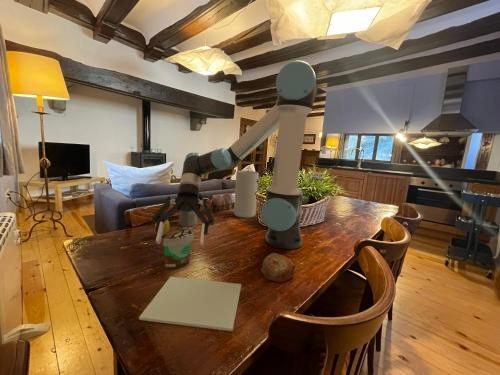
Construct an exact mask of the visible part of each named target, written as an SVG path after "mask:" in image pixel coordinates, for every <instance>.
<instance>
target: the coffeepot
mask: <svg viewBox="0 0 500 375" xmlns="http://www.w3.org/2000/svg"><path fill="white" fill-rule="evenodd" d="M203 199H204V197H203V195H202V194H201V193H199V200H203ZM201 207H202V206H201V204H199V205H198V206H197V208H198V209H199V210H200V211H201ZM177 221H178V222H177V224H178V225H179V226H180V227H193V226H197V224H198V223H199V222H198V216H197V215H196V214H195V213H194V212H193V210H192V211H191V212H188V211H181V210H180V211H179V214H178V220H177Z"/></svg>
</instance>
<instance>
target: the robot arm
mask: <svg viewBox="0 0 500 375" xmlns="http://www.w3.org/2000/svg"><path fill="white" fill-rule="evenodd" d="M275 85H276V86H275V87H276V91H277V99H276V103H275V105H274V106H272V108H270V109H269V111H267V112H266V113H265V114H264V115H263V116H262V117H261V118H260V119H259V120H258V121H256V122H255V123H254V124H253V125H252V126H251V127H250V128H249V129H248V130H247V131H245V132H244V133H243V134H242V135H241V136H240V137H239V138H238V139H237V140H236V141H235V142H233V143H232V144H231V145H230V146H229V147H228V148H225V147H222V148H218V149H217V148H216V149H214V150H212V151H208V152H205V153H203V154H200V152H189V153H187V154H186V155H185V158H184V161H183V166H182V173H181V176H180V180H179V186H178V189H177V190H178V191H177V195H176V198H172V197H171V196H167V197H166V199H165V202H164V203H163V204H162V205H161V207H160V208H159V209H158V210H157V211H156V212H155V214H154V215H153V216H152V217H151V219H152V221H153V223H154V224H156V223H157V224H156V228H155V227H154V230H155V233H156V234H157V235H156V237H155V242H156V243H157V245H160V244H161V242H162V237H163V236H162V233H163V228H164V224H163V223H164V222H165V221H166V220H168V221H169V219H171V218H172V217H173V216H174V215H175V214H176V213H177V214H178V213H180V211H188V212H191V211H192V210H193V212H194V213H195V214H196V215H197V218H198V219H199V220H200V221H201V223H202V226H201V234H200V241H199V242H200V244H199V245H200V246H203V245H204V239H205V236H208V234H209V226H214V225H215V219H214V217H213V215H212V213H211V211H210V208H209V206H208V204H207V203H208V201H207V198H203V200H199V194H200V190H201V184H202V177H203V176H205V175H209V174H210V173H213V172H218V171H225V170H232V169H233V170H234V169H235V168H237V167H238V166H239V165H240V163H241V161H243V160H244V159H245V158H246V157H247V156H248V155H250V154H251V153H252V152H253V151H254V150H256V148H257V147H258V146H260V145H261V144H263V142H264V141H265V140H266V139H268V138H269V137H270V136H271V135H273V133H275V132H276V131H277V130H278V131H277V139H276V148H275V154H274V155H275V156H274V164H273V171H272V172H273V174H272V180H271V185H269V186H268V187H267V188H266V194H265V202H264V203H263V205H262V208H261V213H260V214H261V215H260V216H261V219H262V222H264V224H265V225H266V226H267V227H268V230H267V232H266V234H265V242H266V243H267V244H268V245H269V246H272V247H275V248H278V249H285V250H294V249H297V248H298V249H299V248H301V246H302V245H303V236H302V233H301V232H302V231H301V227H300V224H301V223H300V222H301V214H302V207H303V206H302V205H303V198H304V194H303V193H304V192H303V190H302V189H298V180H299V174H300V173H299V172H300V167H301V166H300V165H301V160H302V159H301V158H302V152H303V144H304V139H305V138H304V137H305V129H306V121H307V116H308V115H309V114H310V113H311V112H313V106H314V101H315V99H316V97H317V93H318V86H317V75H316V73H315V71H314V69H313V67H312V66H311V65H310V64H309V63H308V62H306V61H303V60H295V61H290V62H288V63H287V64H285V65H284V66H283V67H282V68H280V70H279V72H278V74H277V76H276V78H275ZM173 204H174V205H173ZM199 204H201V207H203V210H204V213H205V215H206V216H207V218H206V216H205V215H204V214H203V212H201V209H200V210H199V209H198V205H199ZM171 205H172V207H171ZM170 207H171V208H170Z"/></svg>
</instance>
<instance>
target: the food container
mask: <svg viewBox="0 0 500 375" xmlns="http://www.w3.org/2000/svg"><path fill="white" fill-rule="evenodd" d="M194 239H195V236H194V232H193V230H192V228H190V227H188V226H182V229H181V230H180V231H178V232H176V233H174V234H173V235H171V236H170V237H169V238H163V242H162V246H163V247H164V267H165V269H166V270H177V269H181V268H184V267H186V266H188V265H189V264H190V259H191V250H192V249H191V248H192V242H193V241H194Z"/></svg>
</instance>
